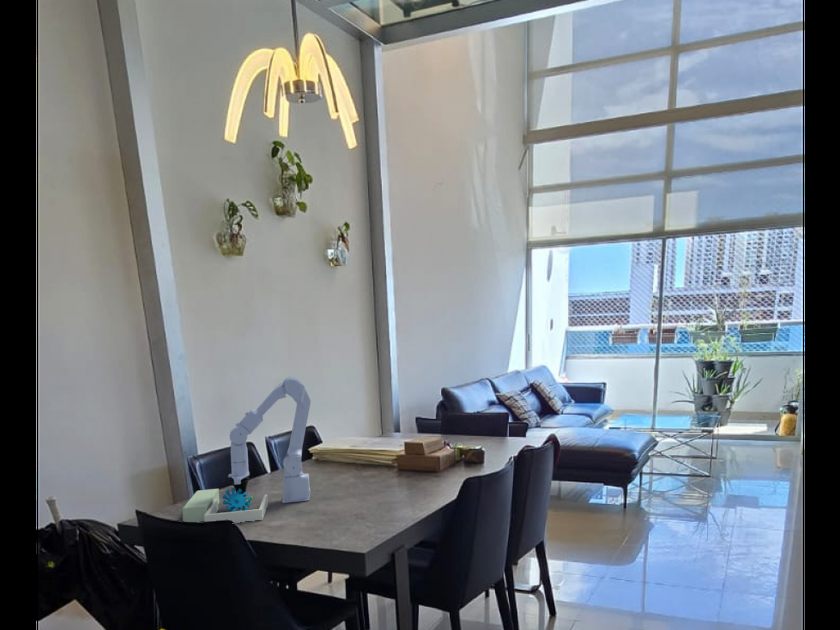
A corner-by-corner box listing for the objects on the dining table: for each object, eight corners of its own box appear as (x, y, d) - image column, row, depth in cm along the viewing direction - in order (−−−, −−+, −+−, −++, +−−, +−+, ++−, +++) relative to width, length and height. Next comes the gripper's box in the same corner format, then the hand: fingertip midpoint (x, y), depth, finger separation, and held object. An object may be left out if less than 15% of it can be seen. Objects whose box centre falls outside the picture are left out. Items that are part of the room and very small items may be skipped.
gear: (228, 513, 196) (220, 488, 202) (221, 523, 199) (214, 498, 205) (258, 509, 204) (250, 485, 209) (251, 519, 206) (243, 495, 212)
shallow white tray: (268, 504, 210) (267, 494, 210) (262, 520, 192) (261, 509, 192) (215, 509, 207) (214, 499, 207) (204, 526, 189) (204, 515, 189)
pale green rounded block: (220, 502, 216) (219, 488, 216) (208, 521, 194) (207, 506, 194) (198, 504, 215) (197, 490, 215) (183, 523, 193) (182, 508, 193)
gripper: (231, 457, 216) (233, 495, 215) (224, 466, 201) (226, 506, 201) (251, 456, 217) (253, 493, 217) (245, 465, 202) (247, 504, 202)
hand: (241, 499), depth 209 cm, fingers closed
